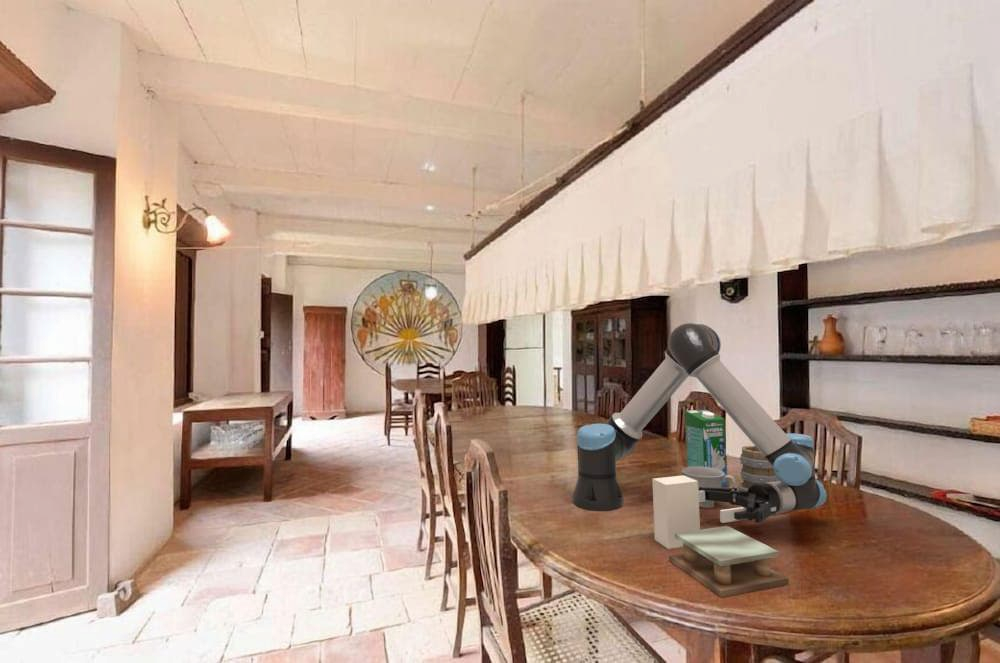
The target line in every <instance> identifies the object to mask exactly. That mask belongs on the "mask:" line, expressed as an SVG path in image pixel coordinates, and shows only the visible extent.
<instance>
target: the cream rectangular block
mask: <svg viewBox="0 0 1000 663" xmlns="http://www.w3.org/2000/svg"><path fill="white" fill-rule="evenodd" d="M652 499H653V500H652V501H653V502H652V503H653V527H654V528H653V529H654V531H653V532H654V541H656V542H657V543H659V544H660V545H662V546H663V547H665V548H666V549H668V550H669V549H670V550H671V549H677V548H683V543H682V542H680V541H679V540H677V539H676V538H675V533H682V532H689V531H695V530H701V525H700V524H701V523H700V522H701V521H700V520H701V518H700V517H701V516H700V507H699V492H698V481H696V480H694V479H691V478H689V477H686V476H684V474H683V475H675V476H674V475H673V476H665V477H657V478H652Z"/></svg>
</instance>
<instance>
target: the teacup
mask: <svg viewBox="0 0 1000 663" xmlns="http://www.w3.org/2000/svg"><path fill="white" fill-rule="evenodd" d="M680 471H681V473H682V474H683V475H684V476H686V477H689V478H691V479H694V480H696V481H698V491H699V487H706V488H722V486H721V483H722V482H724V483H725V482H726V479H727V480H728V479H729V480H731V485H730V486H729V487H728V488H736V479H735V477H734V476H733V475H730V474H727V475H726V476H725V478H724V479H723V478H722V477H723V476H724V475H725V473H724V472H723V471H721V470H719V469H715V468H710V467H702V466H691V467H687V466H686V467H683V468H682V469H681V470H680ZM716 502H717V501H710V500H705V502H704V503H703V502H699V508H706V509H708V508H709V509H711V508H714V507H715V503H716Z"/></svg>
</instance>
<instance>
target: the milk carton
mask: <svg viewBox="0 0 1000 663" xmlns="http://www.w3.org/2000/svg"><path fill="white" fill-rule="evenodd" d="M684 416H685V441H686V442H685V443H686V444H685V445H686V463H687V464H686V465H687V466H686V467H691V466H702V467H710V468H715V469H719V470H721V471H723V472H724V473H725V475H724V476H723V477H722V478H723V479H724V478H725V476H726V475H728V468H727V446H726V444H727V443H726V425H725V424H726V423H725V422H726V421H725V418H724V417H721V416H719V415H718V414H716V413H714V412H711V411H710V410H708V409H695V410H694V409H693V410H692V409H691V410H685V411H684ZM724 486H728V479H726V482H725V483H724V482H722V483H721V487H724Z"/></svg>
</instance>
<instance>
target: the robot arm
mask: <svg viewBox="0 0 1000 663" xmlns="http://www.w3.org/2000/svg"><path fill="white" fill-rule="evenodd" d="M668 337H669V338H668V341H667V344H668V345H667V346H668V347H667V348H666V349H665V351H664V356H665V359H664V360H663V361H662V362H661V363H660V364H659V365H658V367H657V368H656V369H655V370H654V372H652V374H651V376H649V377H648V379H647V380H646V381H645V382H644V384H643V385H642V386H641V388H639V390H638V391H637V392H636V393H635V395H634V396H633V397H632V399H630V401H629V402H628V403H627V404H626V405H625V407H624V408H623V409H622V410H621V412H613V413H612V415H611V416H610V417H609V418H608V419H607V421H606V422H605V423H591V424H586V425H583V426H581V427H580V428H579V429H578V431H577V433H576V434H577V436H576V446H577V471H578V472H577V475H578V476H577V477H578V478H577V480H576V482H575V483H576V484H575V487H574V490H573V495H572V497H573V499H572V500H573V501H572V502H573V504H574V505H576V506H577V507H579V508H582V509H586V510H591V511H612V510H617V509H619V508H621V507H623V505H624V497H623V496H624V495H623V493H622V489H621V487H620V484H619V481H618V479H617V461H619V460H621V459H623V458H624V459H625V458H626V457H628V456H630V455H631V454H632V453H633V452H634V450H635V449H636V447H637V444H638V443H639V441H640V440H641V439H642V438H643V431H642V430H644V428H645V427H647V425H648V424H649V422H651V420H652V419H653V418H654V417H655V415H657V413H659V411H660V410H661V408H662V407H663V406H665V404H666V403H667V402H668V400H670V398H671V397H672V396H673V395H674V394H675V393H676V392H677V390H679V388H680V386H682V384H683V383H684V382H685V381H686V380H687V379H688V377H692V378H696V379H697V380H698V382H700V384H701V385H702V386H703V387H704V389H705V390H706V391H707V392H708V393H709V394H710V395H711V396H712V397H713V399H714V400H715V401H716V402H717V403H718V404H719V406H720V407H721V408H722V410H724V411H725V412H726V413H727V415H728V416H729V417H730V418H731V420H733V422H734V423H735V425H737V426H738V428H739V429H740V430H741V431H742V433H743V434H744V435H745V436H746V437H747V438H748V439H749V441H751V443H752V444H753V446H756V447H757V448H758V450H759V451H760V452H761V453H762V454H763V455H764V457H765V458H766V459H767V460H768V462H769V463H770V464H771V465H772V466H773V469H774V472H775V475H776V476H777V478H778V479H779V480H780V481H775V482H767V483H760V484H753V485H751V486H750V487H749V489H748V490H747V491H743V490H742V491H739V490H738V488H737V487H734V488H729V487H721V488H706V487H699V491H698V492H699V502H703V503H704V502H705V500H710V501H716V502H720V503H728V504H730V505H732V506H740V507H734V508H733V507H732V508H726V509H720V510H719V520H720V523H722V524H724V523H731V522H738V521H745V520H748V521H753V520H754V522H755V523H758V524H761V523H763V522H764V521H765V520H767V519H768V518H769V517H771V516H772V515H777V514H778V515H779V514H780V515H781V514H782V513H784V512H792V511H798V510H810V509H814V508H818V507H820V506H822V505H824V504H825V503H826V500H827V491H826V489H825V487H824V485H823V483H822V482H821V481H819V479H817V478H816V475H815V474H816V472H815V470H816V469H815V468H816V467H815V447H814V440H813V438H812V436H810V435H807V434H802V433H792V432H791V433H786V432H785V431H784V430H783V429H782V428H781V426H779V425H778V424H777V423H776V421H775V420H774V419H773V418H772V417H771V416H770V415H769V413H768V412H767V411H766V410H765V409H764V408H763V407H762V405H761V404H759V402H758V401H757V400H756V399H755V398H754V397H753V396H752V395H751V394H750V392H748V390H747V389H746V387H744V386H743V385H742V383H740V381H739V380H738V378H736V377H735V375H734V374H732V372H731V371H730V370H729V369H728V368H727V367H726V366H725V365H724V364H723V363H722V361H721V354H720V351H721V346H722V344H721V338H720V336H719V334H718V332H716V330H714V329H713V328H711V327H710V326H709V325H706V324H704V323H703V324H702V323H694V322H693V323H692V322H690V323H689V322H687V323H682V324H680V325H678V326H677V327H675V328H674V329H673V330H672V331H671V333H670V335H669V336H668Z"/></svg>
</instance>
